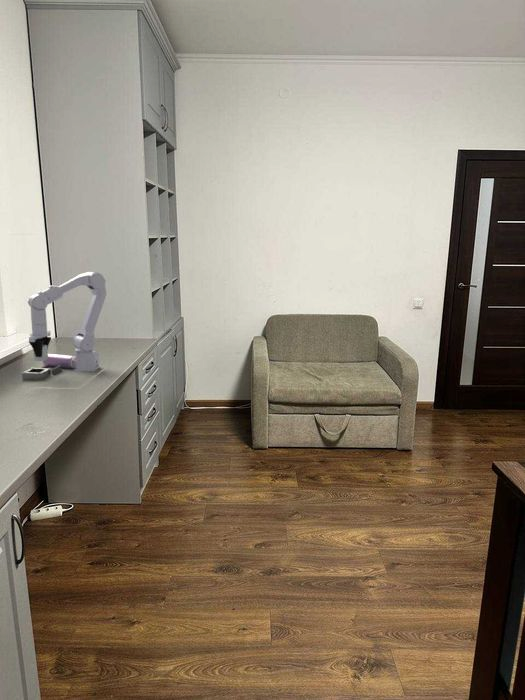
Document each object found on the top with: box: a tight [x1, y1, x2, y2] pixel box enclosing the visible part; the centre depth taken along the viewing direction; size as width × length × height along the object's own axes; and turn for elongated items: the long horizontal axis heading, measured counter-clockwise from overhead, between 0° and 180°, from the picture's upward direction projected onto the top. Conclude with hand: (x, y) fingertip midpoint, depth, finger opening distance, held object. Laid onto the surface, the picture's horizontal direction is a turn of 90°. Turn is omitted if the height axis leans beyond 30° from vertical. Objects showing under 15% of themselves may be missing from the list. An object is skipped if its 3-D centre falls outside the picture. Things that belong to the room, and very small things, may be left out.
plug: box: [33, 345, 49, 362], centre depth 203 cm, size 4×4×7 cm
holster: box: [40, 365, 62, 376], centre depth 209 cm, size 7×7×3 cm
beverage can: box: [41, 353, 76, 370], centre depth 218 cm, size 6×6×15 cm
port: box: [21, 367, 52, 381], centre depth 201 cm, size 8×8×4 cm
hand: (41, 355), depth 203 cm, fingers closed on plug, 4 cm apart
